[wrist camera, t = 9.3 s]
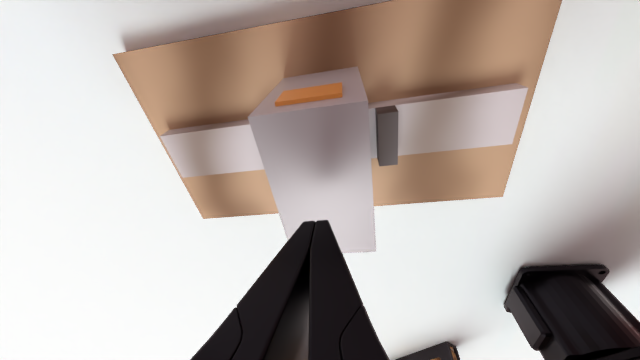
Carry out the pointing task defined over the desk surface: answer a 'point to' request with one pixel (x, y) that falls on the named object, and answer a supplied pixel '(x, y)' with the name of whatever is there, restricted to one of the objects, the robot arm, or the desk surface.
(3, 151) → the desk surface
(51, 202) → the desk surface
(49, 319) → the desk surface
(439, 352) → the ammunition clip
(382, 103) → the rail base
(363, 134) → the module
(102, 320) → the desk surface
